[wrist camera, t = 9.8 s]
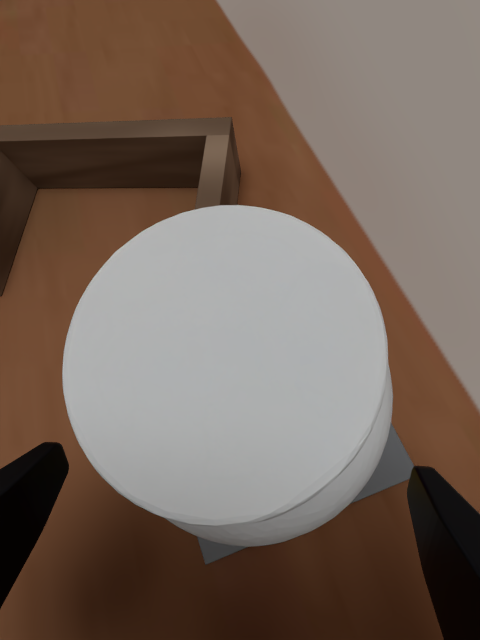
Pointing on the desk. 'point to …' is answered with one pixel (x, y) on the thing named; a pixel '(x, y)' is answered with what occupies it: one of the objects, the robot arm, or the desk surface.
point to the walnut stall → (112, 164)
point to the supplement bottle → (231, 375)
